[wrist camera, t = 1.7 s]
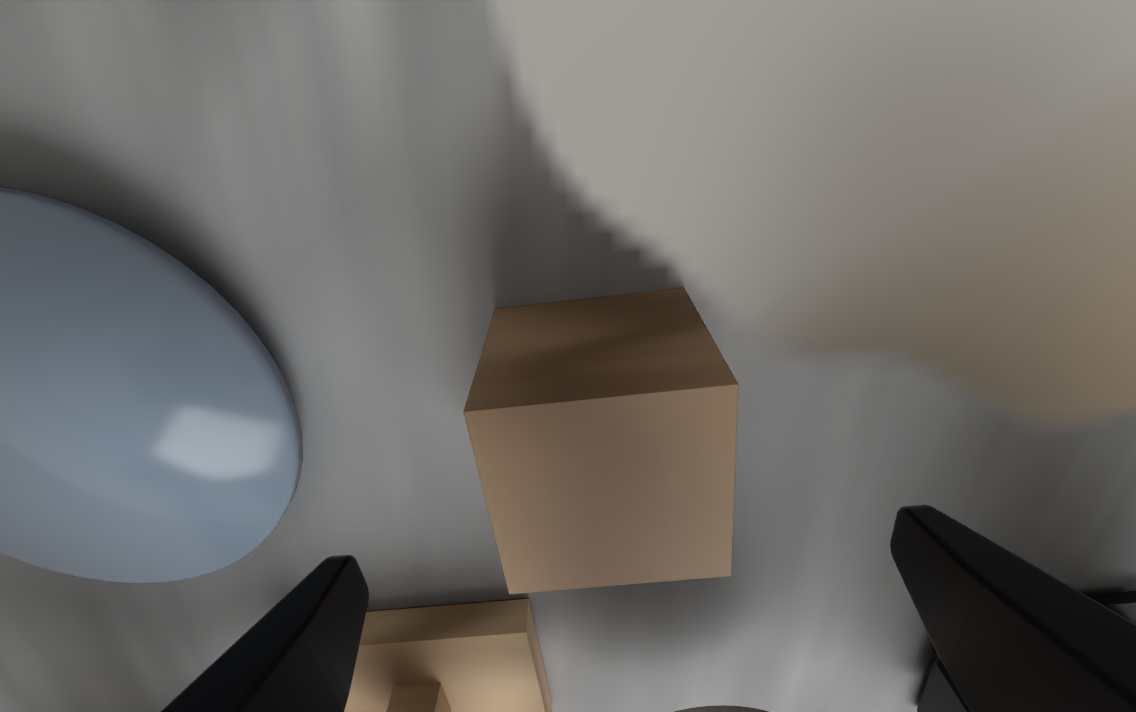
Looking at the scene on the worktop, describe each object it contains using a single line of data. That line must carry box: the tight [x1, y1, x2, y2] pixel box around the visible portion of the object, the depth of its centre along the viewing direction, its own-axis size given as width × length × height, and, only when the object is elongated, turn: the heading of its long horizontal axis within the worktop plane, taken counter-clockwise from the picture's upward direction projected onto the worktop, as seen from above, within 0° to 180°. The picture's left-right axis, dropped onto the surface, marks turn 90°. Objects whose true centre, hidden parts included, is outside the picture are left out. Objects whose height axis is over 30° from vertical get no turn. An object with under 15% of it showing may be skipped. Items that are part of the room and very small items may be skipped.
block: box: [464, 288, 738, 594], centre depth 12 cm, size 4×4×4 cm
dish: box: [0, 187, 303, 583], centre depth 13 cm, size 11×11×1 cm
